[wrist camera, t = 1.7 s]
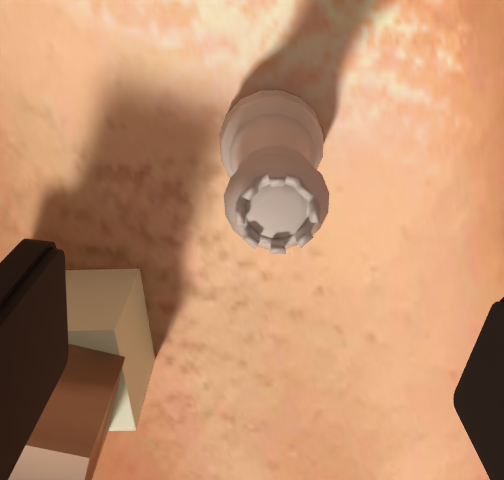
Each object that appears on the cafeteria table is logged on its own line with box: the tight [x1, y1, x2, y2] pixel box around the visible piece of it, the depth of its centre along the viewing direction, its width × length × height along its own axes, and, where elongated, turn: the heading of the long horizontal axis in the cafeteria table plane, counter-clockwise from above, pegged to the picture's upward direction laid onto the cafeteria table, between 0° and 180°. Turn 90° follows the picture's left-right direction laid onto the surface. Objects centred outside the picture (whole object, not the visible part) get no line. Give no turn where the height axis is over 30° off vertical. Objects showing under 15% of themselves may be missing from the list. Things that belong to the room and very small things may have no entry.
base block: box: [65, 268, 155, 431], centre depth 24 cm, size 6×6×5 cm
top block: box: [8, 344, 125, 480], centre depth 19 cm, size 5×5×5 cm
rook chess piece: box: [220, 90, 329, 254], centre depth 18 cm, size 4×4×8 cm
